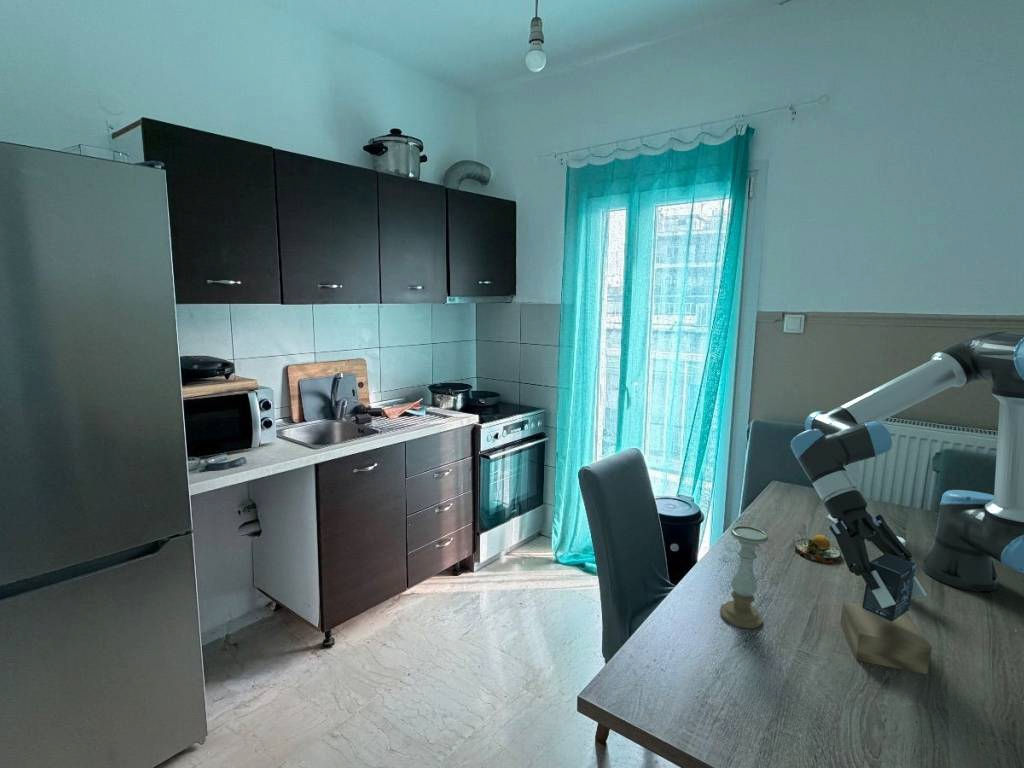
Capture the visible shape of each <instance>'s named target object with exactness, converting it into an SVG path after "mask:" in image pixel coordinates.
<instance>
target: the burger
mask: <svg viewBox="0 0 1024 768" xmlns="http://www.w3.org/2000/svg"><path fill="white" fill-rule="evenodd" d="M827 535H828V534H826V535H823V534H815V535H814V536H813V537H812V538H811V539H809V538H808V539H806V538H801V539H797V540H796V541H794V543H793V546H794V548H795V549H794V550H795V551H794V552H795V553H796V555H800V557H801V556H802V554H803V556H804V557H805V558H806V559H807V560H811V561H817V562H819V561H820V562H822V564H828V563H831V564H836V563H839V562H841V559H842V557H841V556H842V552H841V549H839V548H838V547H836V546H834V545H832V544H831V541H830V540H829V539H828V537H827Z"/></svg>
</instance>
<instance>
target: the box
mask: <svg viewBox="0 0 1024 768" xmlns="http://www.w3.org/2000/svg"><path fill="white" fill-rule="evenodd" d="M869 561H870V565H871V572H872V571H875V570H876V571H877V573H878V575H879V576H880V578H881V580H882V581H883V583H884V585H885V586H886V588H887V590H888V591H889V593H890V595H891V596H892V598H893V600H894V601H895V603H896V604H895V605H891V606H888V607H885V608H882V607H881V606H880V604H879V602H878V600H877V599H876V597H875V595H874V594H873V592H872V591H871V590H870V589H869V587H868V585H867V584H866V583H865V587H864V588H865V590H864V594H863V599H862V604H861V605H862V608H863V609H864V610H867V611H868V612H871V613H873V614H875V615H877V616H879V617H881V618H883V619H885V620H888V621H890V622H892V621H894V620H895V619H897V618H898V617H900V616H901V615H902V614H904V613H908V611H909V610H910V605H911V599H912V597H911V594H912V588H913V582H914V576H915V575H916V570H917V563H915V562H913V561H908V560H905V559H902V558H900V557H897V556H894V555H892V554H889V553H885V554H884V555H882V556H881V555H880V556H879V557H876V558H875V559H873V560H869Z"/></svg>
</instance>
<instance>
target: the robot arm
mask: <svg viewBox="0 0 1024 768" xmlns="http://www.w3.org/2000/svg"><path fill="white" fill-rule="evenodd" d="M930 359H931V360H929V361H927V362H925V363H923V364H922V365H919V366H917V367H915V368H914V369H911V370H909V371H907V372H905V373H904V374H902V375H899V376H898V377H895V378H894V379H892V380H889V381H887V382H885V383H883V384H882V385H880V386H877V387H876V388H873V389H872V390H869V391H868V392H866V393H864V394H862V395H860V396H858V397H855V398H854V399H852V400H850V401H848V402H845V404H842V405H840V406H837V407H836V408H834V409H832V410H830V411H825V410H824V411H822V410H819V411H818V410H817V411H814V412H812V413H810V414H809V415H808V416H807V418H806V419H805V422H804V429H805V431H802V432H800V433H798V434H797V435H796V436H794V437H793V438H792V439H791V441H790V444H789V445H790V449H791V450H792V453H793V454H794V456H795V459H796V461H798V463H799V465H800V466H801V468H802V469H803V471H804V473H805V474H806V476H807V477H808V479H809V481H810V483H811V485H812V486H813V487H814V489H815V491H816V492H817V494H818V496H819V498H820V500H821V501H822V502H823V501H824V507H825V509H826V510H827V512H828V513H829V514H830V515H831V517H832V518H834V519H837V520H838V522H837V523H835V524H834V523H833V524H831V525H830V526H828V527H829V528H828V529H829V530H830V531H831V533H832V534H833V536H834V538H835V539H836V541H837V544H838V547H839V550H840V551H841V555H842V557H843V558H844V561H845V564H846V566H847V568H848V572H849V573H852V574H854V575H855V576H856V577H859V576H861V577H862V579H863V581H864V582H865V585H866V584H867V585H868V587H869V589H870V590H871V591H872V592H873V594H874V595H875V597H876V599H877V600H878V602H879V604H880V606H881V607H882V608H885V607H888V606H891V605H895V604H896V603H895V601H894V600H893V598H892V596H891V595H890V593H889V591H888V590H887V588H886V586H885V585H884V583H883V581H882V580H881V578H880V576H879V575H878V573H877V571H876V570H875V571H872V572H871V565H870V561H871V560H870V559H869V555H868V550H867V546H866V542H865V540H866V541H869V542H871V543H872V544H873V545H874V546H875V547H876V548H877V549H878V550H879V551H880V552H881V554H882V553H883V554H885V553H889V554H892V555H894V556H897V557H900V558H902V559H905V560H908V561H910V562H913V560H912V558H913V554H912V553H911V552H910V550H908V549H907V547H906V545H905V546H904V545H903V544H902V543H901V541H900V540H899V539H898V538H897V535H896V534H895V533H894V531H893V529H891V528H890V526H889V525H888V524H887V522H886V520H885V519H884V516H883V515H881V514H877V515H875V516H872V515H871V514H870V513H869V512H868V511H867V509H866V508H867V507H868V503H867V501H866V500H865V498H864V497H863V495H862V493H861V492H860V491H859V490H858V489H857V490H855V489H856V485H855V483H854V482H853V480H852V479H851V477H850V476H849V474H848V473H847V471H846V469H845V468H844V466H846V465H848V464H852V463H855V462H858V461H860V462H861V461H864V460H869V459H872V458H877V457H878V456H880V455H882V454H885V453H887V452H889V451H890V450H891V449H892V448H893V439H892V435H891V434H890V431H889V429H888V428H886V426H885V425H884V424H883V423H882V422H883V421H884V420H886V419H888V418H890V417H893V416H894V415H897V414H898V413H900V412H903V411H904V410H906V409H908V408H911V407H912V406H914V405H915V406H916V404H918V403H921V402H923V401H925V400H928V399H929V398H931V397H932V396H935V395H937V394H939V393H941V392H943V391H945V390H948V389H949V388H951V387H954V388H955V387H956V388H961V387H963V386H965V385H967V384H969V383H973V382H978V381H989V382H991V395H992V396H993V397H995V399H996V400H998V401H999V410H998V411H999V412H998V427H997V441H996V442H997V444H996V460H995V474H994V475H995V476H994V492H993V493H994V494H990V493H985V492H979V491H975V490H974V491H973V490H964V489H951V490H949V489H948V490H947V491H945V492H944V493H943V494H942V497H941V500H940V502H939V509H938V516H937V523H936V528H935V529H936V530H935V535H934V536H935V537H934V542H933V544H931V547H930V548H929V549H928V551H927V553H926V554H925V556H924V557H923V559H922V563H921V569H922V570H923V572H924V573H925V574H926V575H928V576H929V577H931V578H933V579H934V580H937V581H938V582H941V583H944V584H946V585H948V586H952V587H955V588H957V589H961V588H963V589H962V590H965V589H968V590H967V591H970V590H973V591H972V592H977V591H990V590H993V589H995V588H996V589H997V585H998V575H997V570H996V567H995V562H994V560H996V561H998V562H1000V563H1001V564H1002V565H1003V566H1005V567H1007V568H1009V569H1012V570H1014V571H1016V572H1018V573H1021V574H1023V575H1024V333H1022V332H1021V333H1019V332H1005V331H990V332H984V333H980V334H976V335H974V336H973V335H972V336H971V337H968V338H965V339H964V340H961V341H959V342H957V343H954V344H951V345H950V346H947V347H946V348H944V349H942V350H939V351H936V352H935V353H934V354H933V355H931V358H930ZM829 514H828V515H829ZM902 553H903V554H902ZM996 589H995V590H996ZM993 591H994V590H993ZM990 592H991V591H990ZM926 596H928V594H927V593H926V591H925V589H924V587H923V586H922V584H921V583H920V581H919V579H918V578H917V576H916V574H915V576H914V582H913V588H912V594H911V599H912V600H914V601H915V600H917V599H920V598H924V597H926Z"/></svg>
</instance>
